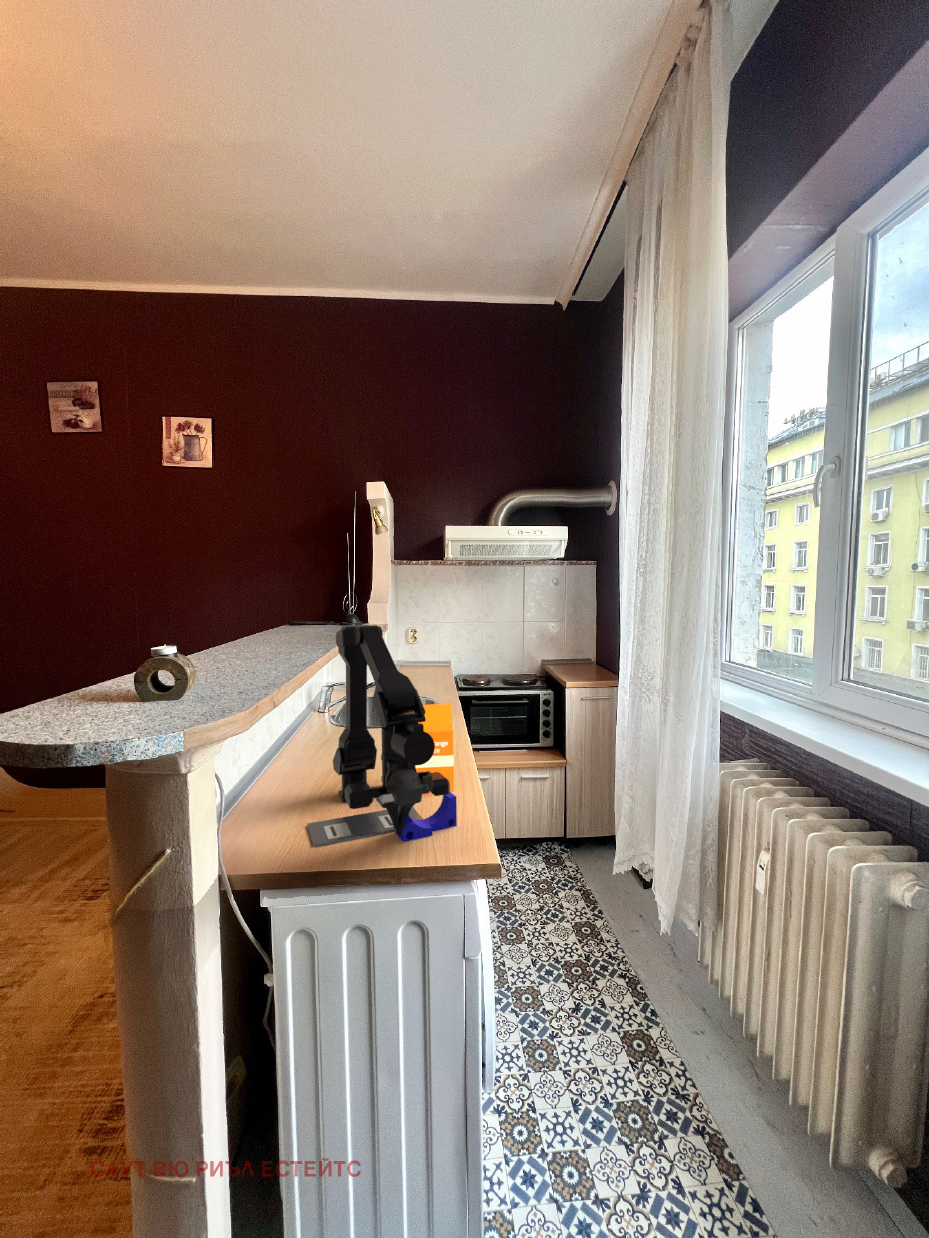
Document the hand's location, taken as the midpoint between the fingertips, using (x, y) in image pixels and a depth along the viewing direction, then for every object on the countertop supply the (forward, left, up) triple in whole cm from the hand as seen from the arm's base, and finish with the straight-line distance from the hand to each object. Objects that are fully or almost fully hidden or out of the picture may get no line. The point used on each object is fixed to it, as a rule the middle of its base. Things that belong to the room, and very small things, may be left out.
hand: (398, 835), depth 98 cm
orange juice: (-26, +16, -2) cm, 30 cm away
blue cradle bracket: (-3, +7, -2) cm, 8 cm away
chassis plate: (-11, -4, -2) cm, 11 cm away
